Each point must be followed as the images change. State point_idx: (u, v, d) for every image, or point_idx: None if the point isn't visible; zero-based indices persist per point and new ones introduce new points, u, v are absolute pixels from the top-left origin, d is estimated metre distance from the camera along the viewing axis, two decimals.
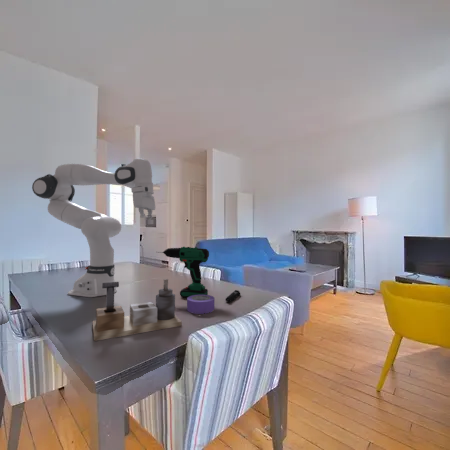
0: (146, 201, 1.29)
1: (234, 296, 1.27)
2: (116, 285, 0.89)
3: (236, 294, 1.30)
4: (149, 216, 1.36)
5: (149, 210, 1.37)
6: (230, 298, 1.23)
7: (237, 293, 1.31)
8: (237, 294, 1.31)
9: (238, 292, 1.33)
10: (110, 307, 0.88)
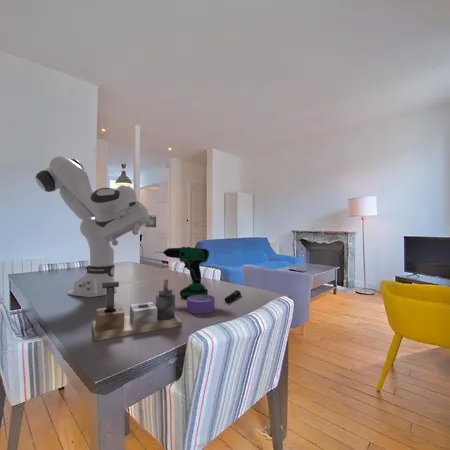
0: None
1: (234, 296, 1.27)
2: (116, 285, 0.89)
3: (236, 294, 1.30)
4: (116, 242, 1.01)
5: (114, 236, 1.03)
6: (229, 298, 1.23)
7: (237, 293, 1.31)
8: (237, 294, 1.31)
9: (238, 292, 1.33)
10: (110, 307, 0.88)
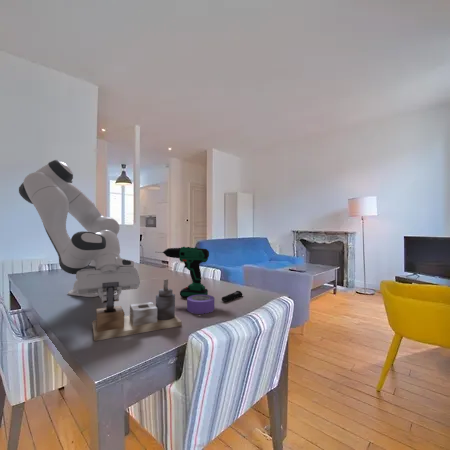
0: None
1: (232, 296, 1.27)
2: (116, 285, 0.89)
3: (236, 294, 1.29)
4: None
5: None
6: (226, 298, 1.23)
7: (237, 294, 1.31)
8: (237, 295, 1.30)
9: (239, 293, 1.32)
10: (110, 307, 0.88)
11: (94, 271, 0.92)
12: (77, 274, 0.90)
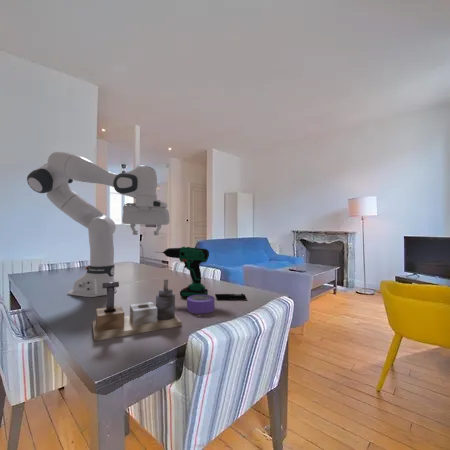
0: None
1: (228, 296, 1.27)
2: (116, 285, 0.89)
3: (234, 296, 1.27)
4: (136, 232, 1.15)
5: (134, 225, 1.15)
6: (218, 296, 1.27)
7: (237, 296, 1.27)
8: (237, 296, 1.27)
9: (241, 295, 1.27)
10: (110, 307, 0.88)
11: (133, 208, 1.13)
12: (123, 208, 1.15)
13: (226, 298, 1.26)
